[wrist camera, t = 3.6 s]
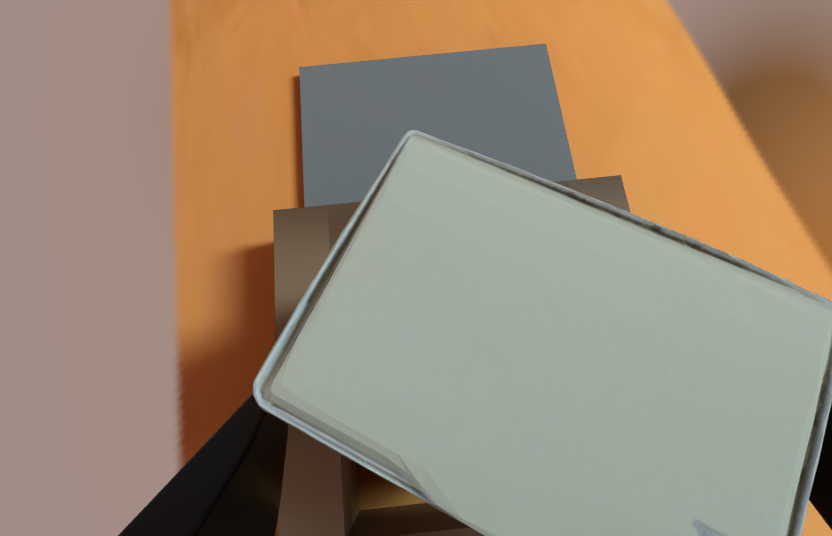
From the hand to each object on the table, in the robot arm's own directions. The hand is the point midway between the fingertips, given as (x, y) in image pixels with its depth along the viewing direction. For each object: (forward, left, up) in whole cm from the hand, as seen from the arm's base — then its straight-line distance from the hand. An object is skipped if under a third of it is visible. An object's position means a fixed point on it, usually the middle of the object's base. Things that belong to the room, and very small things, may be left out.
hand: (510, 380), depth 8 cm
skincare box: (0, 0, -9) cm, 9 cm away
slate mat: (+6, +9, -9) cm, 14 cm away
